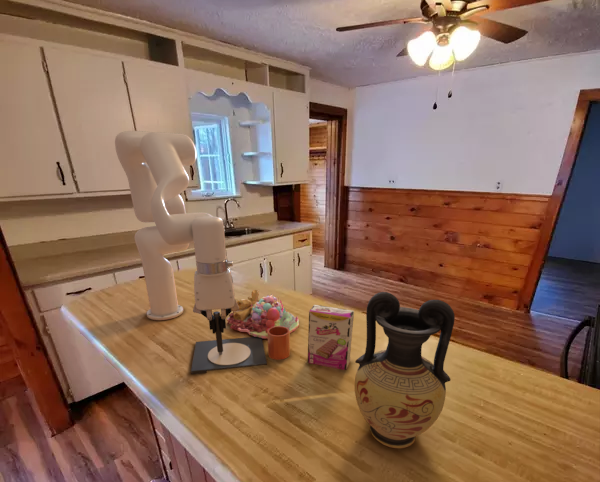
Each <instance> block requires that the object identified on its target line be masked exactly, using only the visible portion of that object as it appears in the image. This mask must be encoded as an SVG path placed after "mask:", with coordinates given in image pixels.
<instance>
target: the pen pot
mask: <svg viewBox="0 0 600 482" xmlns="http://www.w3.org/2000/svg"><path fill="white" fill-rule="evenodd" d="M267 338H268V339H267V355H268V357H269V358H270V359H272V360H276V361H281V360H285V359H288V357H290V355H291V333H290V331H289V329H288V328H286V327H283V326H275V327H271V328H269V329H268V331H267Z"/></svg>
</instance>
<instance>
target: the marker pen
mask: <svg viewBox="0 0 600 482" xmlns="http://www.w3.org/2000/svg"><path fill="white" fill-rule="evenodd" d="M212 314H213V316H214V321H215V331H216V332H215V340H216V342H217V351H218V352H219V355H222V352H223V343H222V340H223V333H222V332H221V328H220V315H221V311H213V312H212Z"/></svg>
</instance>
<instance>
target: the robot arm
mask: <svg viewBox="0 0 600 482" xmlns="http://www.w3.org/2000/svg"><path fill="white" fill-rule="evenodd" d="M114 147H115V148H114V149H115V152H116V156H117V158H118V161H119V163H120V166H121V167H122V169H123V171H124V173H125V175H126V178H127V182H128V186H129V187H128V188H129V191H130V198H131V201H132V207H133V211H134V214H135V217H136V219H137V220H138V221H139V222H141V223H154V224H155V225H152V226H145V227H142V228H139V229H138V230H137V231H136V232H135V234H134V242H135V246H136V249H137V252H138V255H139V258H140V261H141V266H142V271H143V276H144V281H145V282H144V283H145V286H146V287H145V288H146V292H147V297H148V303H149V304H148V305H149V308H148V310H147V311H146V317H147V318H148V319H149V320H152V321H153V320H154V321H165V320H171V319H176V318H177V317H179V316H181V315H182V314H183V313H184V307H183V306H182V305H180V304H179V303H178V296H177V295H178V294H177V289H176V288H177V287H176V281H175V275H174V268H173V265H172V263H171V262H170V261H169V260H168V259H167V258H166V257H165V256H164V255H166V254H167V255H168V254H172V253H178V252H183V251H186V250H187V249H188V248H189V246H190V244H193V247H194V249H193V250H194V257H195V264H196V270H195V271H194V274H193V275H194V276H193V293H194V294H193V295H194V305H193V309H192V312H193V313H194V314H197V315H202V316H203V317H205V318H206V319H207V321H208V324H209V325H208V326H209V330H210V331H212V334H213V335H214V334H215V335H216V331H215V321H214V315H213V310H220V328H221V332H222V334H223V333H225V329H227V318H228V317H229V315H230V314H231V313H233V311H235V310H237V309H238V308H239V306H238V304H237V300H236V296H235V286H234V280H233V275H232V272H231V269H230V267H233V261H232V260H228V259H227V250H226V249H227V248H226V237H225V235H226V234H225V224H224V221H223V219H222V218H221V217H219V216H215V215H214V216H213V215H212V214H211V213H209V212H205V211H204V212H203V211H202V212H201V211H199V212H187V211H186V210H187V209H186V205H185V202H184V199H183V198H182V196H181V195H180V194H182V193H183V192H185V191H186V190H187V188H188V187H189V184H190V177H189V175H188V173H187V171H186V169H185V167H189V166H193V164H195V162H196V160H197V149H196V145H195V143H194V141H193V140H192V138H191V137H190V136H188V135H187V134H186V133H180V132H179V133H178V132H165V131H164V132H163V131H146V130H145V131H144V130H125V131H124V130H123V131H120V132H119V133H117V134H116V136H115V140H114Z"/></svg>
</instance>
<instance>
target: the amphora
mask: <svg viewBox="0 0 600 482" xmlns="http://www.w3.org/2000/svg"><path fill="white" fill-rule="evenodd" d="M365 315H366V318H365V319H366V320H365V321H366V344H365V351H364V354H362V355H360V356H359V357H358V358H357V359H356V360H355V362H354V364H355V363H356V364H358V365H359V366H358V368H357V370H356V374H355V377H354V395H355V400H356V403H357V406H358V409H359V412H360V413H361V415H362V417H363V419H364V420H365V421H366V422H367V424H368V425H369V431H370V433H371V435H372V437H373V438H374V439H375V440H376V441H377V442H379V443H380V444H382V445H384V446H385V447H389V448H393V449H405V448H409V447H410V446H412V445H413V444H414V443H415V441H416V437H417V436H419V435H421V434H423V433H424V432H426V431H427V430H429V429H430V428H431V427H432V426H433V425H434V424H435V423H436V421H437V420H438V418H439V416H440V415H441V413H442V411H443V409H444V406H445V401H446V396H447V395H446V394H447V392H446V391H447V390H446V389H447V388H446V383H449V382H451V377H450V376H449V375H448V373H447V372H446V371H445V370H444V368H445V367H444V366H445V360H446V356H447V352H448V349H449V345H450V342H451V338H452V334H453V329H454V327H455V326H454V324H455V321H456V319H455V317H456V316H455V312H454V309H452V306H450V304H448V303H447V302H445V301H443V300H440V299H428V300H427V301H425V302H423V303H422V304H421V305H420V307H419V308H418V309H417V308H412V307H405V306H401V304H400V301H399V299H398V298H397V297H396V296H395V295H394V294H392V293H391V292H388V291H380V292H377V293H375V294H373V296H371V298H370V299H369V300H368V303H367V305H366V313H365ZM377 324H378V325H379V326H380V327H382V330H383V333H384V335H385V336H386V337H387V338H388V342H387V346H386V349H382V350H379V351H376V343H377V342H376V341H377ZM439 332H440V333H439ZM437 333H439V339H438V342H437V345H436V350H435V354H434V358H433V362H432V361H430V360H429V359H427V358H426V357H425V356H422V347H423V344H424V343H427V342H428V340H429V339H430V338H431V336H432V335H435V334H437Z"/></svg>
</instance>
